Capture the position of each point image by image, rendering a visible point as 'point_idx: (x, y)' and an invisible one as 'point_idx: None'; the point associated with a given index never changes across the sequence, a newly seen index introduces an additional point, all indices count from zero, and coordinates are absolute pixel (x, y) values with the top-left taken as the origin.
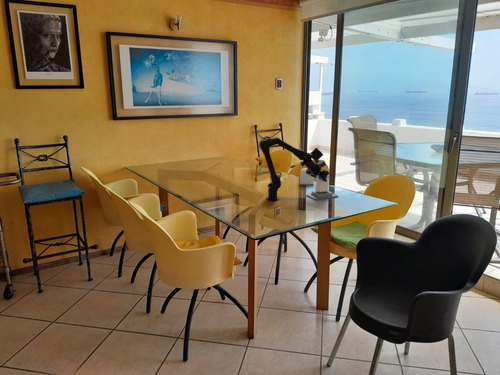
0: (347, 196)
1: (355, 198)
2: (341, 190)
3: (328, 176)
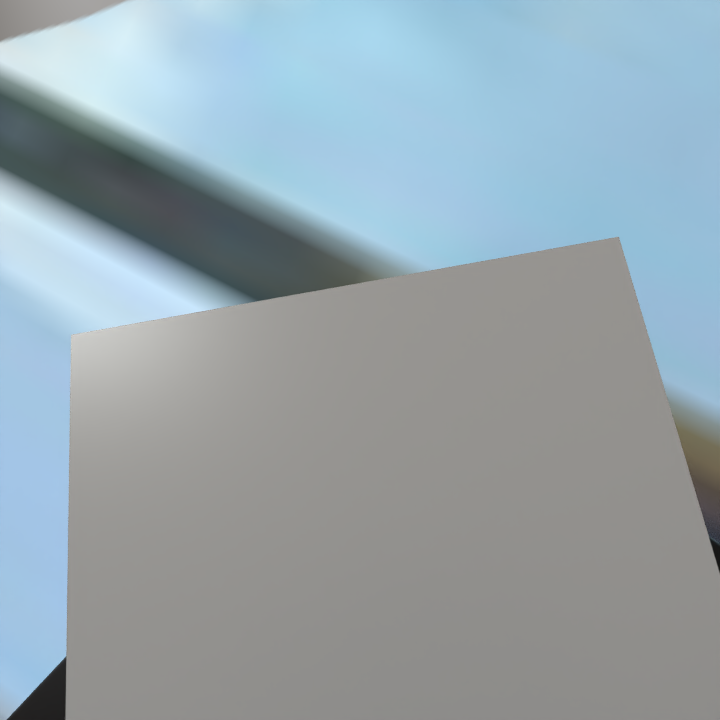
0: (551, 103)
1: (706, 38)
2: (182, 44)
3: (637, 316)
